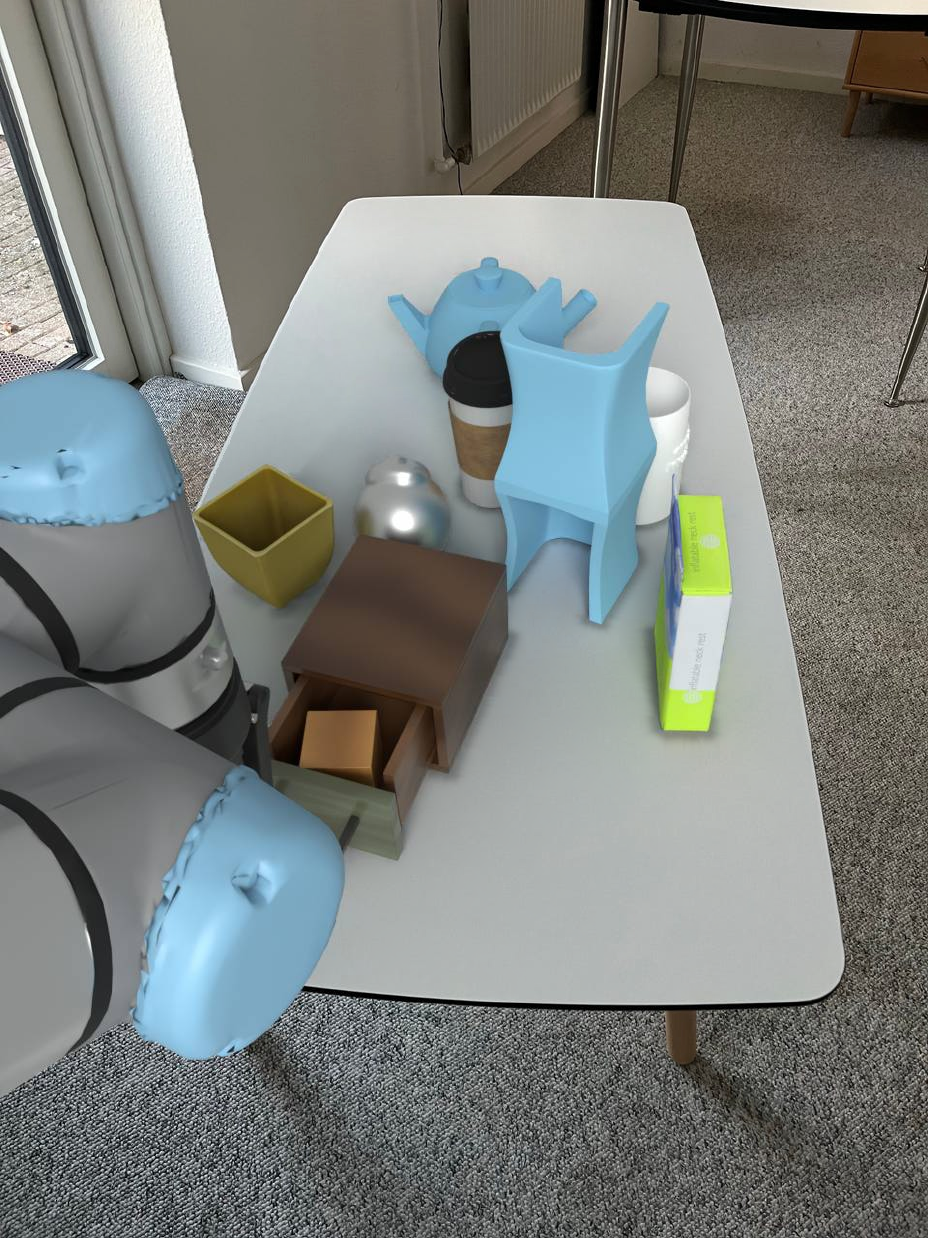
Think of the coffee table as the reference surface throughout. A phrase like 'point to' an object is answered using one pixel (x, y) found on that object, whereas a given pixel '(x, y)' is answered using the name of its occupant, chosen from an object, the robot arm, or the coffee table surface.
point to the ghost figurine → (402, 505)
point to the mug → (664, 442)
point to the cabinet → (409, 632)
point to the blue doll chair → (576, 444)
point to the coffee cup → (479, 412)
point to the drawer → (342, 803)
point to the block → (344, 745)
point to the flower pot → (270, 534)
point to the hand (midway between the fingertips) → (254, 921)
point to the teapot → (476, 310)
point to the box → (692, 611)
